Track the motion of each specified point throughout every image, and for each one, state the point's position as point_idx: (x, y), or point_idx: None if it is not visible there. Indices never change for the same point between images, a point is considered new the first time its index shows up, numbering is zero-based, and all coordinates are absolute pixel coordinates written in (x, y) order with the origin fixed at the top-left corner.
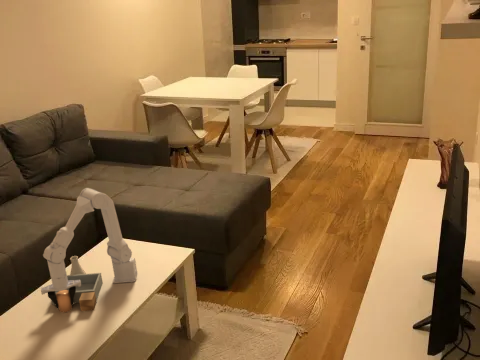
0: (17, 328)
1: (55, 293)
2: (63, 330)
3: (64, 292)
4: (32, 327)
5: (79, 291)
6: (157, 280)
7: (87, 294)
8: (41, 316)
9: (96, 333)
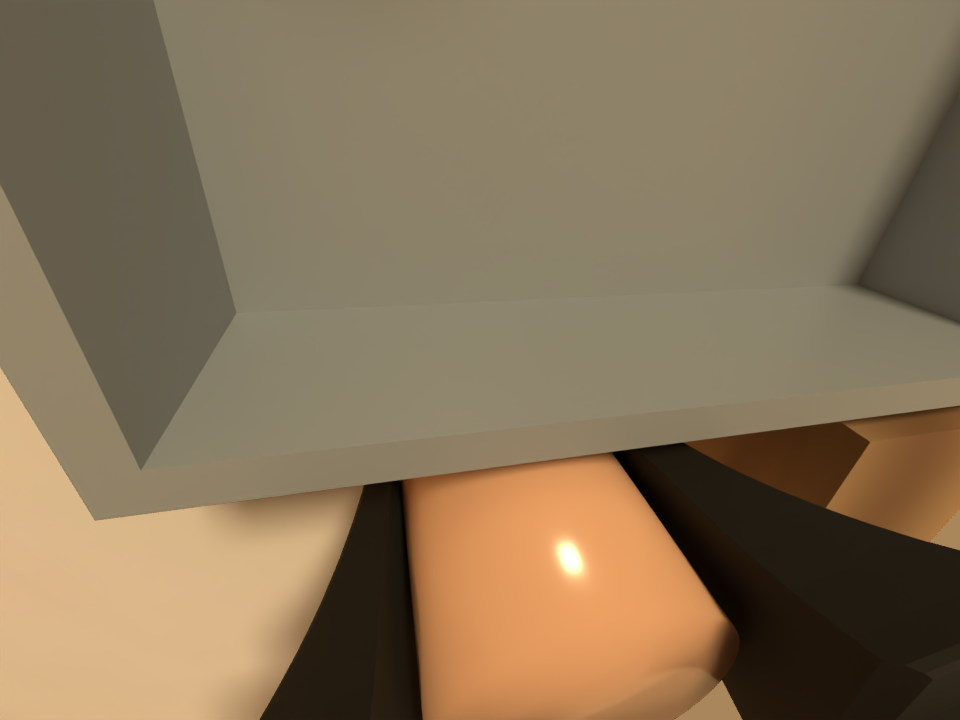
0: (28, 710)
1: (384, 709)
2: None
3: (634, 683)
4: (212, 673)
5: (856, 408)
6: None
7: (924, 475)
8: (203, 554)
9: None
